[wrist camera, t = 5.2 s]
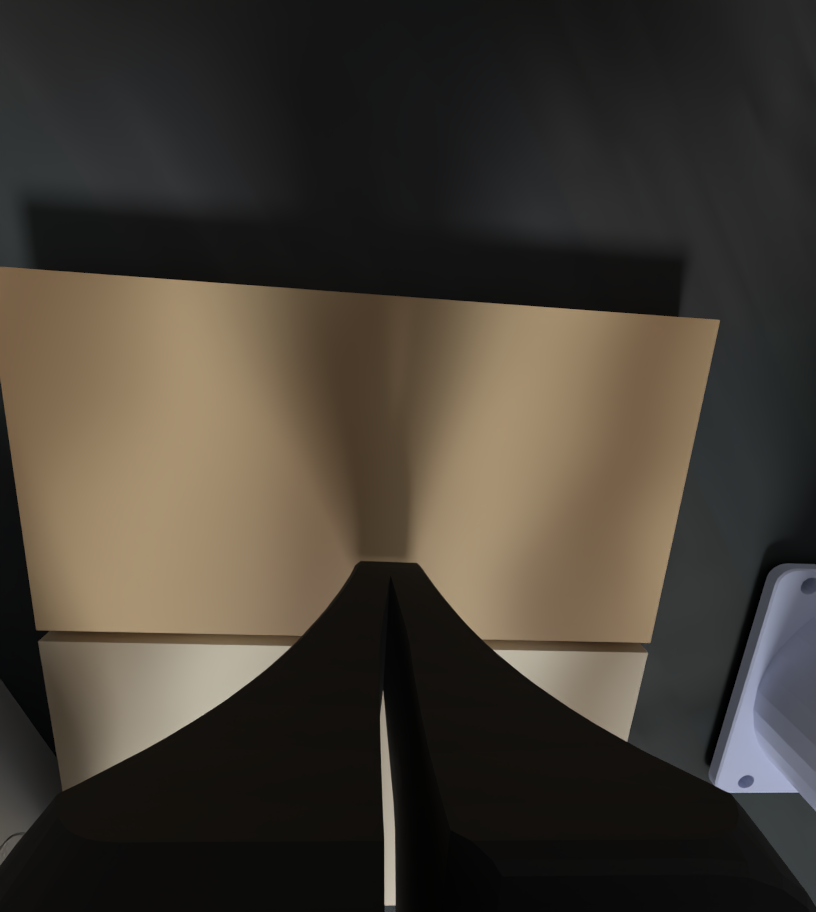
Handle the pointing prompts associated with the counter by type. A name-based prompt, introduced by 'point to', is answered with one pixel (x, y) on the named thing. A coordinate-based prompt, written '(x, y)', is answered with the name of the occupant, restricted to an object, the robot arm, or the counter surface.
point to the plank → (341, 454)
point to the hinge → (22, 773)
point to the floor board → (239, 662)
